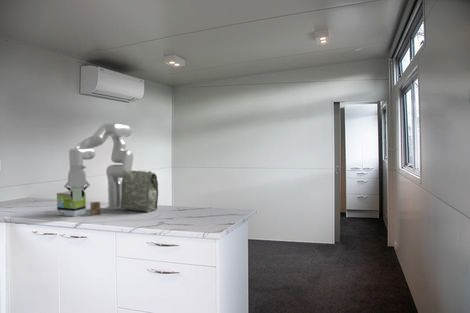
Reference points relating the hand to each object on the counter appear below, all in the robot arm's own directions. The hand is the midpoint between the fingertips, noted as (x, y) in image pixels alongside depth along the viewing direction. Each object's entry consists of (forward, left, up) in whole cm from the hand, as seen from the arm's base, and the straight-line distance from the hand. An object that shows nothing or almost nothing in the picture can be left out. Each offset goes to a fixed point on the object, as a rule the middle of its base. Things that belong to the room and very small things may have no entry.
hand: (77, 197), depth 212 cm
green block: (0, 0, -2) cm, 2 cm away
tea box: (+5, -14, -13) cm, 20 cm away
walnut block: (-10, -8, -13) cm, 18 cm away
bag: (-37, -14, -12) cm, 42 cm away
